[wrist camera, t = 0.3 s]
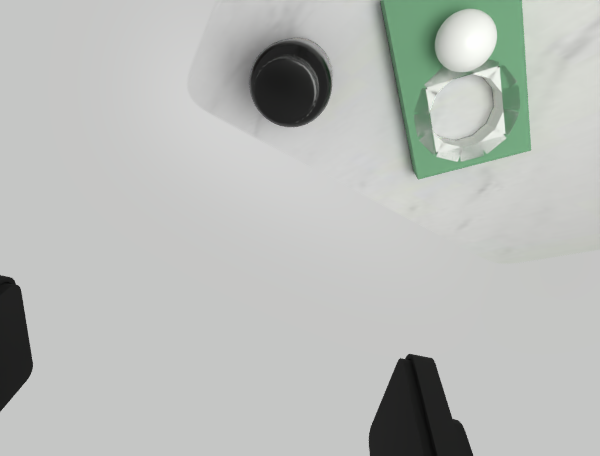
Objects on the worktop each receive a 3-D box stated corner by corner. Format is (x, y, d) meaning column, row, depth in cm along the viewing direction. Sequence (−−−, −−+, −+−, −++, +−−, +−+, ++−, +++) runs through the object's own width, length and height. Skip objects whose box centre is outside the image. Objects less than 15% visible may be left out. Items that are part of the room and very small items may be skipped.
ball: (425, 20, 35) (438, 20, 31) (482, 1, 34) (503, -2, 30) (433, 76, 37) (447, 83, 33) (488, 59, 36) (509, 64, 32)
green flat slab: (380, 0, 37) (383, -1, 35) (506, -44, 35) (518, -48, 33) (413, 171, 44) (418, 179, 42) (520, 143, 42) (530, 150, 40)
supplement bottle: (345, 58, 39) (350, 73, 29) (312, 121, 42) (305, 155, 32) (282, 22, 38) (263, 23, 28) (252, 89, 41) (225, 113, 31)
